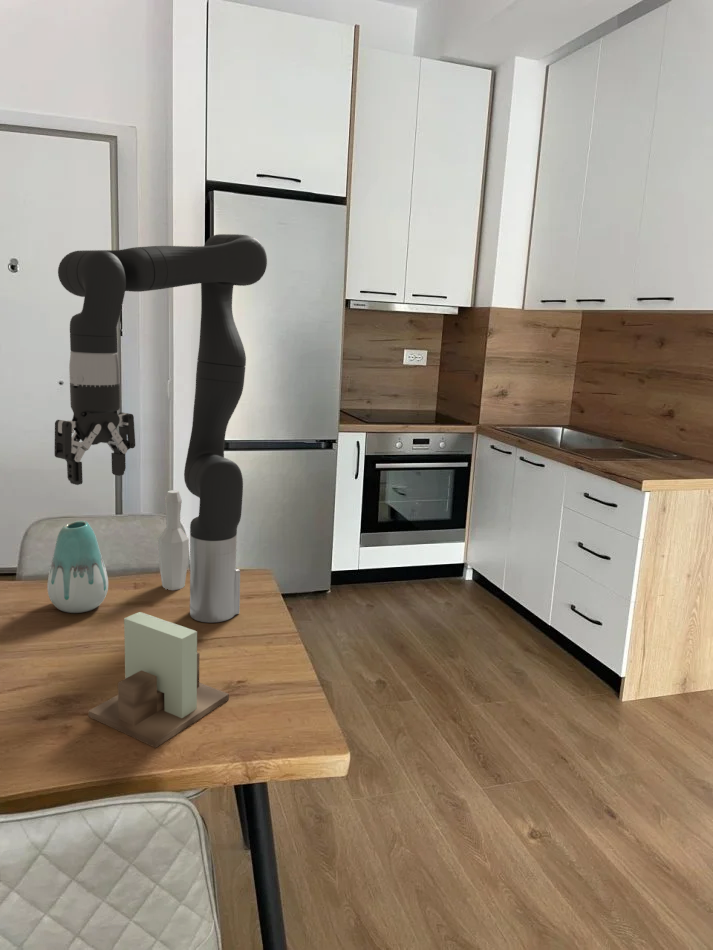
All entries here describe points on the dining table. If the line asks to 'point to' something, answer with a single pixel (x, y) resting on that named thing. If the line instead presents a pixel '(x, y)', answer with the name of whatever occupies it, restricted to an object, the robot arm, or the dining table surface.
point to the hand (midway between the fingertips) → (97, 479)
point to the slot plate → (152, 709)
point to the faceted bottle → (173, 545)
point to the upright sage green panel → (164, 659)
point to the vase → (77, 570)
